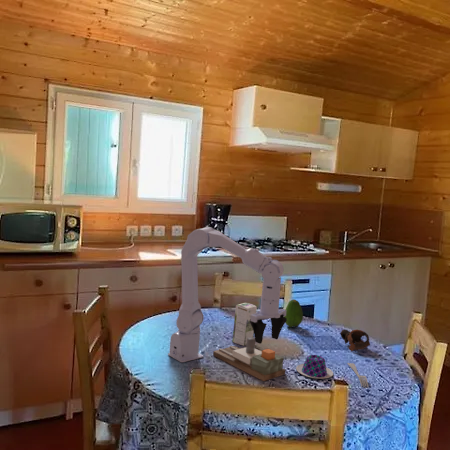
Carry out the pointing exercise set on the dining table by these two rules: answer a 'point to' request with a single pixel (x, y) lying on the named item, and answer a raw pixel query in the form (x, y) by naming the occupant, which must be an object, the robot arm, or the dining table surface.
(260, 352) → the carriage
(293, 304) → the avocado
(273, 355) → the button
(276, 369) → the wooden base with block
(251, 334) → the syrup box
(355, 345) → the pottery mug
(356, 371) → the fork
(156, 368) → the dining table surface
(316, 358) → the checkered hat
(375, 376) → the dining table surface
